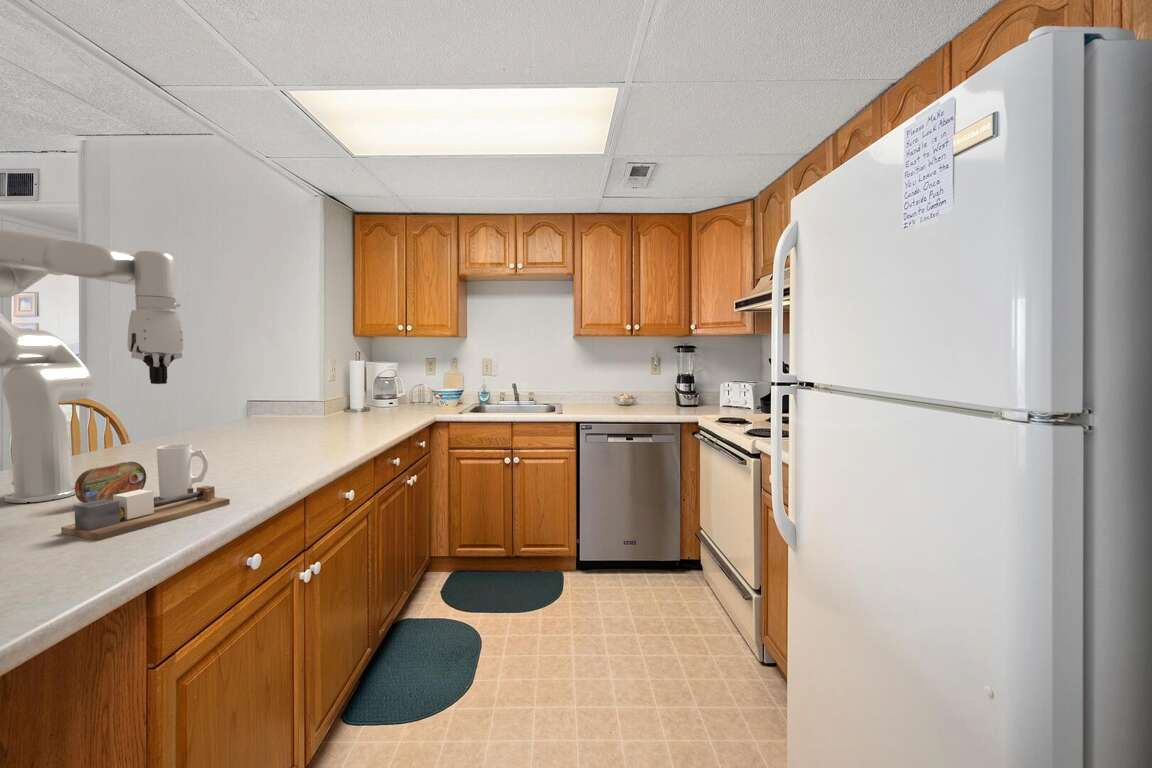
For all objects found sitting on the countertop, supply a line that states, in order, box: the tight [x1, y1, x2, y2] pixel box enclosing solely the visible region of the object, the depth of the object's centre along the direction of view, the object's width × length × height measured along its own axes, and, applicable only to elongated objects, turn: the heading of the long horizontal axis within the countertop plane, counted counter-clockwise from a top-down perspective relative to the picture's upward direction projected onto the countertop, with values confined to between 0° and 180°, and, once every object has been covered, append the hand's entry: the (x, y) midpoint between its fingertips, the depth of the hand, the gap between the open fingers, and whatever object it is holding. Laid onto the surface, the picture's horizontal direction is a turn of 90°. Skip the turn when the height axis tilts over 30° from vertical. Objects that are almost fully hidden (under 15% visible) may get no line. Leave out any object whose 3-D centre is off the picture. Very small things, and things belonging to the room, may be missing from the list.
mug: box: [156, 443, 209, 500], centre depth 134 cm, size 10×7×12 cm, turn 118°
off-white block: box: [113, 489, 155, 520], centre depth 112 cm, size 4×5×4 cm
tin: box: [74, 461, 147, 504], centre depth 129 cm, size 15×3×8 cm, turn 170°
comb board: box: [60, 485, 231, 541], centre depth 116 cm, size 11×26×6 cm, turn 161°
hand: (158, 383), depth 131 cm, fingers closed
